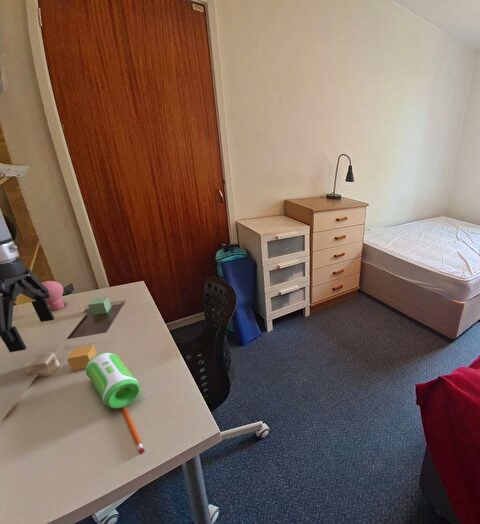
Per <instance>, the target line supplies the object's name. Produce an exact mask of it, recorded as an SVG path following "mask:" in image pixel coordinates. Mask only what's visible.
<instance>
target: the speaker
mask: <svg viewBox="0 0 480 524" xmlns="http://www.w3.org/2000/svg"><path fill="white" fill-rule="evenodd" d="M85 374H86V376H87V378H88V379H90V381H91V383H92V385H93V386H94V388H95V389H96V391H97V393H98V395H99V396H100V398H101V400H102V403H103V404H104V405H105V406H107V407H109V408H111V409H121V408H122V407H127V406H129V405H130V404H132V403H133V402H134V401H135V400H136V399H137V398H138V396H139V394H140V391H141V389H140V388H141V387H140V383H139V381H138V379H136V378H135V376H133V374H132V372H131V371H129V369H128V368H127V366H126V365H125V364H124V363H123V361H122V360H121V358H120V356H118V355H117V354H115V353H113V352H107V351H105V352H100V353H97V355H96V356H94V357H93V358H91V359H90V360H89V362H88V363H87V366H86V368H85Z"/></svg>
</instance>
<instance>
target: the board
mask: <svg viewBox="0 0 480 524" xmlns="http://www.w3.org/2000/svg"><path fill="white" fill-rule="evenodd" d="M124 304H125V303H124V302H123V303H116V304H110V305H111V308H110V309H109V311H108V312H107V313H104V314H97V315H92V314H91V311H90V309H89V307H87V308H85V309H84V310H83V312H82V314H84V316H83V318H82V319H81V320H80V321H79V322H78V324H77V325H76V326H75V327H74V328H73V330H72V331H71V333H70V334H69V335H68V336H67V337H66V340H71V339H76V338H77V339H78V338H84V337H88V336H89V337H90V336H95V335H100V334H101V335H102V334H107V333H108V331H109V329H110V327H111V326H112V324H113V323H114V321H115V320H116V318H117V316H118V314H119V313H120V312H121V310H122V308H123V307H124Z"/></svg>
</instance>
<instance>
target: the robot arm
mask: <svg viewBox="0 0 480 524" xmlns="http://www.w3.org/2000/svg"><path fill="white" fill-rule="evenodd" d="M18 249H19V247H18V246H17V245H16V243H15V242H14V239H13V237H12V235H11V232H10V230H9V228H8V226H7V224H6V221H5V219H4V217H3V214H2V212H1V210H0V338H1V340H2V342H3V343H4V344H5V345H4V346H5V347H6V348H7V351H8V352H9V353H15V352H20V351H25V350H26V349H27V346H26V344H25V342H24V339H23V338H22V336H21V335H20V333H19V330H18V328H17V327H16V325H15V326H13V316H14V315H13V314H14V303H15V302H16V301H17V299H18V296H19V295H20V294H21V295H23V296H25V297H27V298H29V299H31V300H32V301H31V302H30V303H31V304H32V307H33V309H34V310H35V313H36V315H37V318H38V319H39V321H40V323H43V322H50V321H54V320H55V316H54V314H53V312H52V310H51V309H50V307H49V306H50V305H48V303H47V301H46V299H45V298H50V295H49V294H48V293H49V290H48V289H47V288H46V287H45V286H44V285H43V284H42V283H43V282H41V281H40V280H39V278H37V277H36V276H35V275H34V273H33V272H32V270H31V268H27V267H26V264H25V262H24V260H23V258H21V257H20V253H19V250H18Z"/></svg>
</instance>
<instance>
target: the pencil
mask: <svg viewBox="0 0 480 524" xmlns="http://www.w3.org/2000/svg"><path fill="white" fill-rule="evenodd" d="M120 410H121V412H122V414H123V415H122V416H123V417H124V420H125V422H126V424H127V426H128V429H129V431H130V433H131V436H132V439H133V441H134V443H135V446H136V448H137V451H138V453H139V454H140V455H141V454H143V453H145V448H144V446H143V443H142V441H141V439H140V437H139V434H138V432H137V430H136V428H135V426H134V423H133V421H132V419H131V418H132V417H131V416H130V414H129V411H128V409H127V406H125V407H122V408H120Z"/></svg>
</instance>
